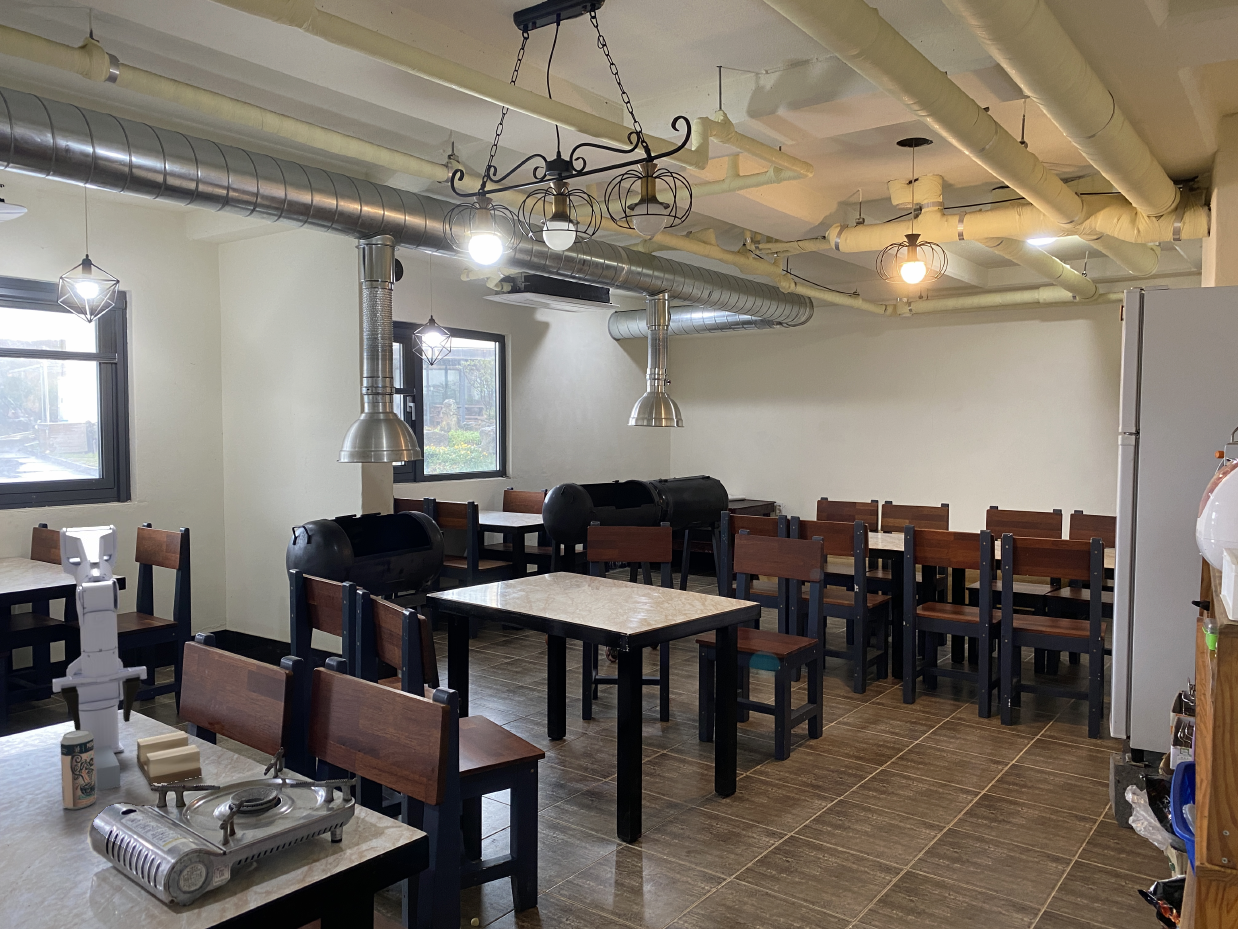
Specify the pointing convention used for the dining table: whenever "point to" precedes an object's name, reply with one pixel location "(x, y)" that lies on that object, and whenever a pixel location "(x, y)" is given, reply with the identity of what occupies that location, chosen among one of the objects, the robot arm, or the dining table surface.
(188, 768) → the display stand
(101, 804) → the dining table surface
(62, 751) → the tea canister
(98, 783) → the grey rectangular block
